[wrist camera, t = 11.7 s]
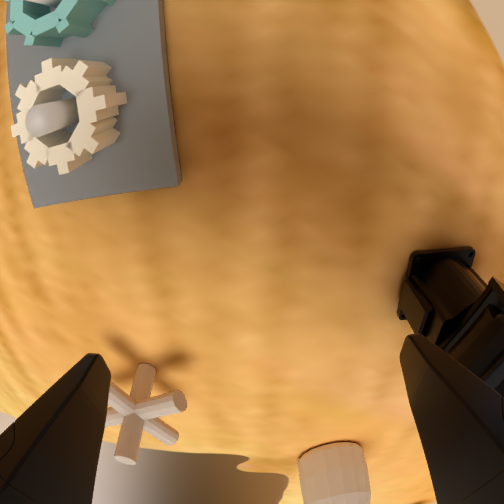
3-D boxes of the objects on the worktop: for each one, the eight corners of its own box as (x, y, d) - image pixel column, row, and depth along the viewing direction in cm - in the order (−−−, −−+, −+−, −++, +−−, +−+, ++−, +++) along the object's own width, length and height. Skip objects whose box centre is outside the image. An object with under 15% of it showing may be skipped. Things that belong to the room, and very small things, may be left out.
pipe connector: (144, 405, 31) (128, 482, 22) (79, 349, 27) (44, 432, 18) (218, 384, 29) (212, 477, 20) (151, 317, 24) (120, 423, 16)
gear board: (160, -86, 10) (135, -127, 5) (182, 180, 19) (159, 216, 14) (19, -30, 10) (-29, -42, 5) (42, 201, 19) (-3, 238, 14)
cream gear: (121, 45, 14) (99, 40, 11) (134, 150, 17) (115, 163, 14) (33, 76, 14) (4, 79, 11) (48, 168, 17) (23, 183, 14)
